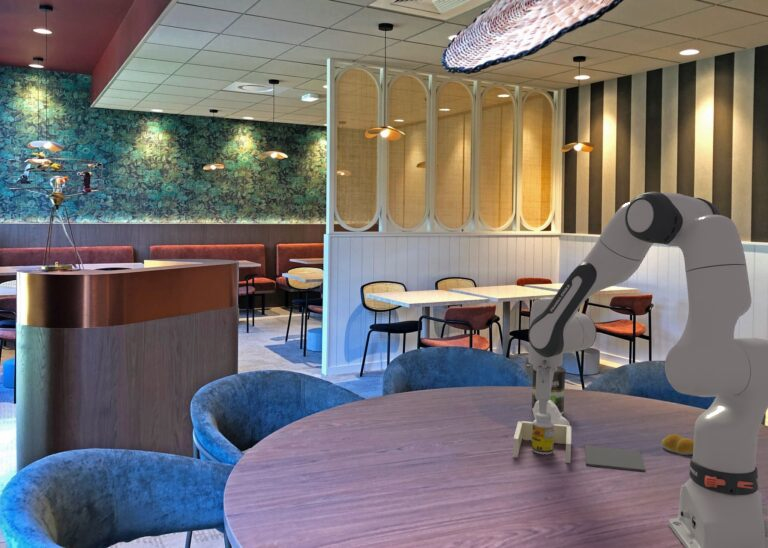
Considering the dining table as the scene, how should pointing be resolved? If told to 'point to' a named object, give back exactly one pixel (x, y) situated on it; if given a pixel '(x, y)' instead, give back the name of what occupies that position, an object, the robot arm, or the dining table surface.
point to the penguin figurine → (553, 410)
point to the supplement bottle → (543, 434)
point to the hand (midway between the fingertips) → (543, 407)
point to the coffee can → (553, 389)
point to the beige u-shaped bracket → (525, 432)
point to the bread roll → (678, 444)
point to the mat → (614, 458)
